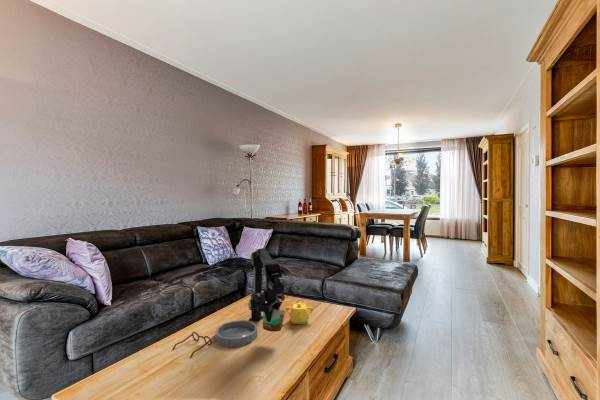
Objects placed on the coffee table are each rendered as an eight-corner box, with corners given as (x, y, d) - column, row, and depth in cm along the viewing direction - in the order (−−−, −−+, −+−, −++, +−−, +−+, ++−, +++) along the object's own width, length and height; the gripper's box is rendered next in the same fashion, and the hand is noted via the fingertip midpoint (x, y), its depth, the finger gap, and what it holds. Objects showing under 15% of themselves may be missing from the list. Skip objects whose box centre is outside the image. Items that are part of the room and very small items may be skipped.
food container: (255, 328, 142) (258, 307, 143) (261, 325, 148) (263, 304, 149) (278, 334, 138) (280, 312, 139) (283, 330, 143) (286, 309, 144)
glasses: (212, 346, 141) (212, 336, 141) (189, 360, 130) (189, 348, 130) (193, 340, 148) (193, 330, 148) (170, 352, 137) (170, 341, 136)
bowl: (231, 324, 165) (231, 318, 164) (264, 330, 157) (264, 323, 157) (206, 341, 145) (206, 334, 145) (243, 349, 138) (243, 342, 138)
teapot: (316, 322, 167) (316, 304, 167) (299, 329, 158) (299, 310, 158) (300, 315, 177) (300, 298, 177) (283, 321, 169) (283, 303, 169)
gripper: (265, 280, 155) (266, 310, 155) (247, 291, 138) (247, 324, 138) (285, 283, 151) (285, 313, 151) (268, 294, 134) (268, 328, 134)
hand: (271, 319), depth 144 cm, fingers closed on food container, 6 cm apart
